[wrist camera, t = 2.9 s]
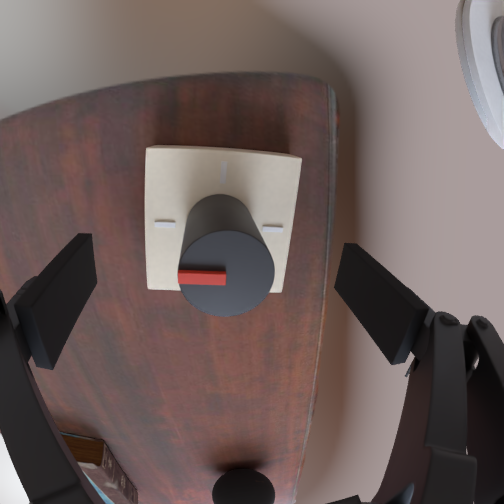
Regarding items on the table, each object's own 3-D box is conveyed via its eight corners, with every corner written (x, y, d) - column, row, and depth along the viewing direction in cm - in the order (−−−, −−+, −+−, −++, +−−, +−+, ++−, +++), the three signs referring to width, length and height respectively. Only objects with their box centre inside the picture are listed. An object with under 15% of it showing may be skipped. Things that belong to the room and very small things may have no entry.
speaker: (201, 465, 38) (205, 518, 28) (262, 454, 38) (274, 508, 29) (220, 484, 42) (226, 528, 33) (273, 474, 42) (284, 519, 33)
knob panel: (290, 153, 21) (303, 158, 18) (273, 274, 25) (282, 293, 22) (153, 145, 20) (145, 147, 17) (153, 270, 23) (147, 290, 21)
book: (138, 490, 41) (137, 510, 37) (63, 476, 39) (60, 494, 34) (105, 439, 33) (101, 467, 28) (13, 418, 30) (5, 441, 25)
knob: (255, 195, 19) (282, 234, 13) (248, 258, 21) (269, 320, 14) (187, 192, 18) (176, 230, 12) (185, 255, 20) (177, 319, 13)
